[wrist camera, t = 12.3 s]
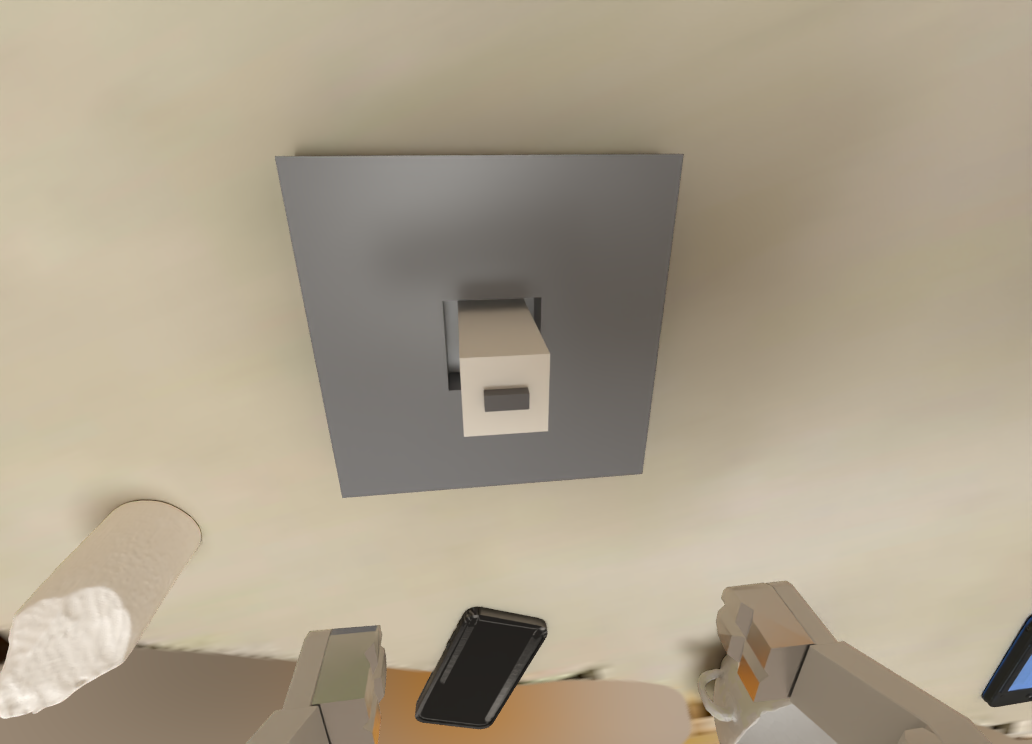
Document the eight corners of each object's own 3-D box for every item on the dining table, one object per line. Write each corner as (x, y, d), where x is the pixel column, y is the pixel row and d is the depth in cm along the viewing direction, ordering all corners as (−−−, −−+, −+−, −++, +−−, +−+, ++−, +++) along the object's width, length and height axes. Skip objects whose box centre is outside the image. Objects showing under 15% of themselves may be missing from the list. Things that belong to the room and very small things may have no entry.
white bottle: (103, 697, 23) (61, 758, 24) (215, 522, 34) (182, 572, 35) (-45, 658, 21) (-81, 728, 22) (126, 485, 32) (94, 540, 33)
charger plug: (523, 298, 29) (552, 359, 20) (523, 358, 31) (550, 438, 22) (457, 300, 29) (459, 363, 20) (461, 361, 30) (464, 443, 22)
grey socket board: (660, 154, 27) (683, 153, 24) (627, 449, 35) (642, 473, 33) (294, 156, 25) (274, 156, 22) (351, 469, 33) (342, 497, 30)
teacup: (831, 630, 48) (898, 715, 40) (756, 705, 52) (806, 794, 45) (715, 597, 43) (767, 685, 36) (644, 682, 48) (678, 776, 40)
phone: (551, 627, 41) (488, 730, 46) (549, 616, 42) (487, 718, 48) (467, 612, 39) (410, 721, 44) (467, 600, 40) (411, 708, 45)
